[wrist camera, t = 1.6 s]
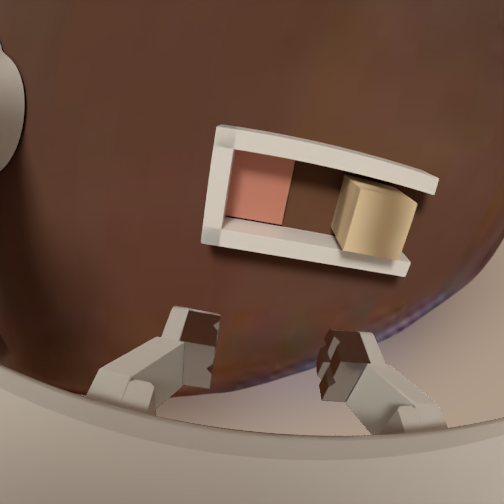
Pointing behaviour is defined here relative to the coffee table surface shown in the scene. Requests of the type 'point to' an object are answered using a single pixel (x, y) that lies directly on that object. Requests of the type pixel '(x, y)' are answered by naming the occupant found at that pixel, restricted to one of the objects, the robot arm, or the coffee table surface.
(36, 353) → the coffee table surface
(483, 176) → the coffee table surface
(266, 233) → the channel
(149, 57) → the coffee table surface
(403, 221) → the block
